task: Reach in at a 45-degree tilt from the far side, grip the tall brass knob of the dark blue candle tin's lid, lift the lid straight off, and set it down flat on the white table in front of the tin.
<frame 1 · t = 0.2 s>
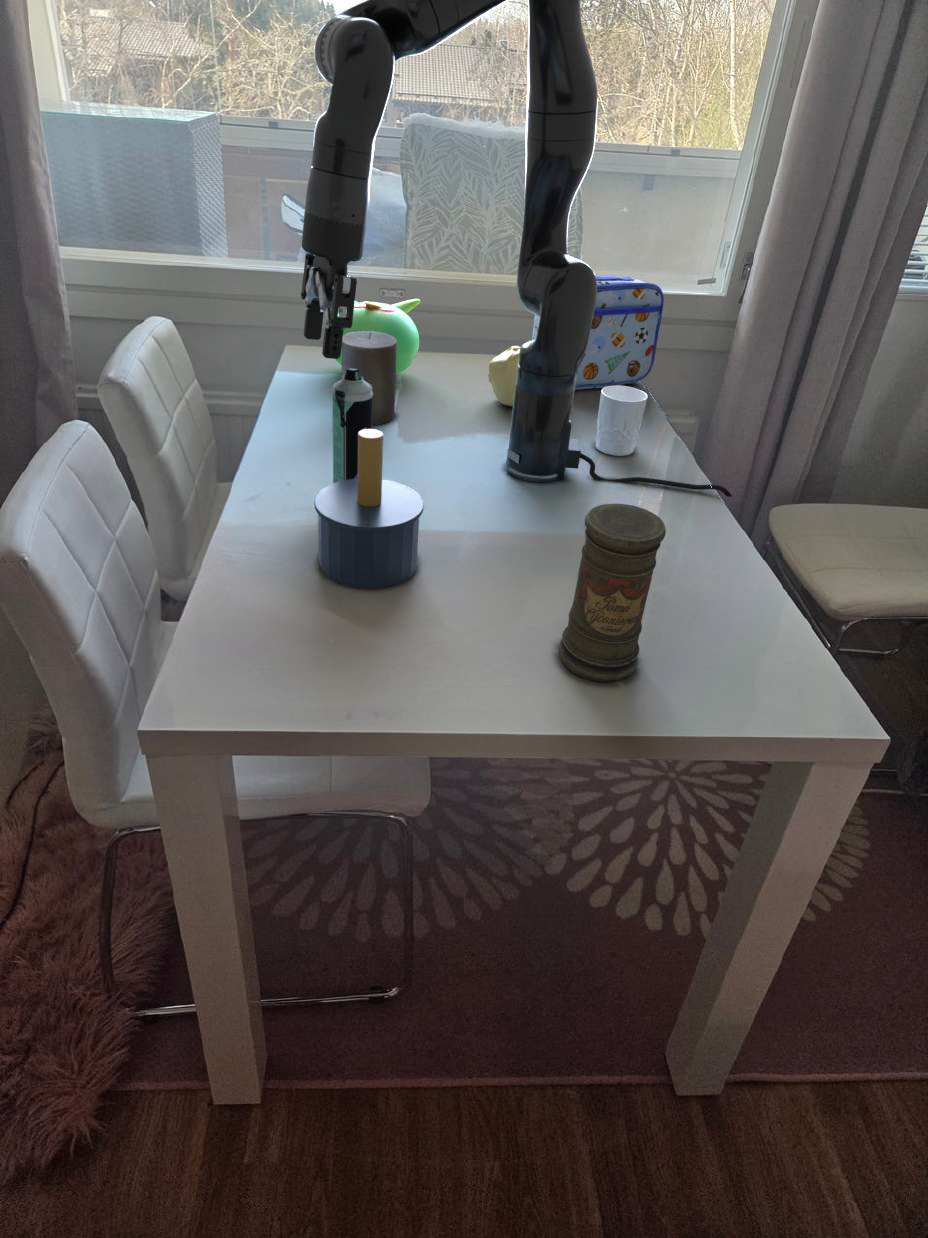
hand: (321, 347, 112), 23 cm above the table, tool pointing down, fingers open, 8 cm apart
spray can: (352, 503, 127), on the table
sculpture: (518, 404, 167), on the table
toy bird: (373, 374, 175), on the table
tin: (368, 563, 113), on the table
pillar candle: (367, 416, 156), on the table
lunch box: (586, 384, 180), on the table
white cup: (614, 449, 152), on the table
container: (596, 660, 99), on the table
lid: (369, 505, 108), point 8 cm above the table, touching tin
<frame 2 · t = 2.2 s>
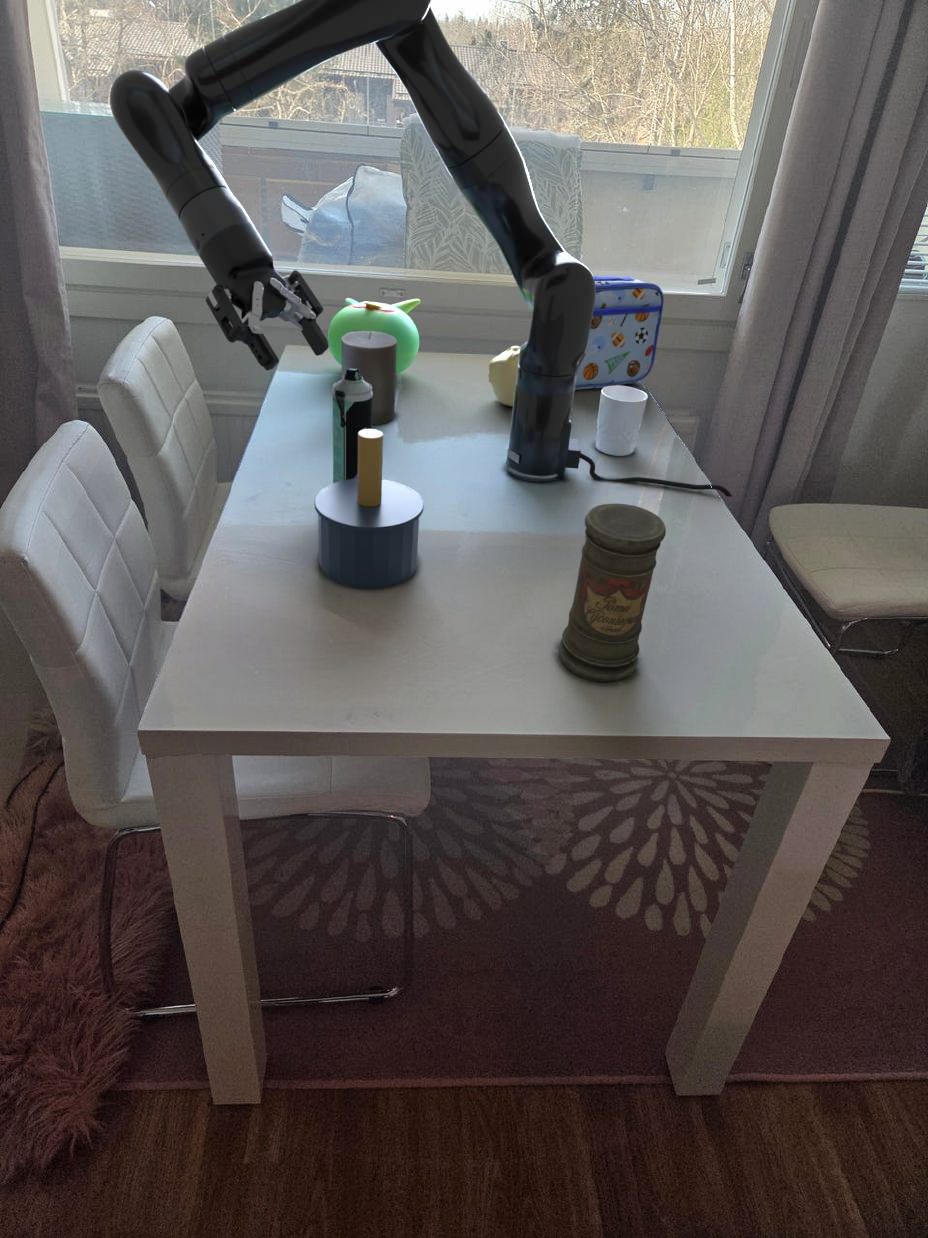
hand: (299, 358, 104), 24 cm above the table, tool tilted 45°, fingers open, 8 cm apart
nothing on the table moved.
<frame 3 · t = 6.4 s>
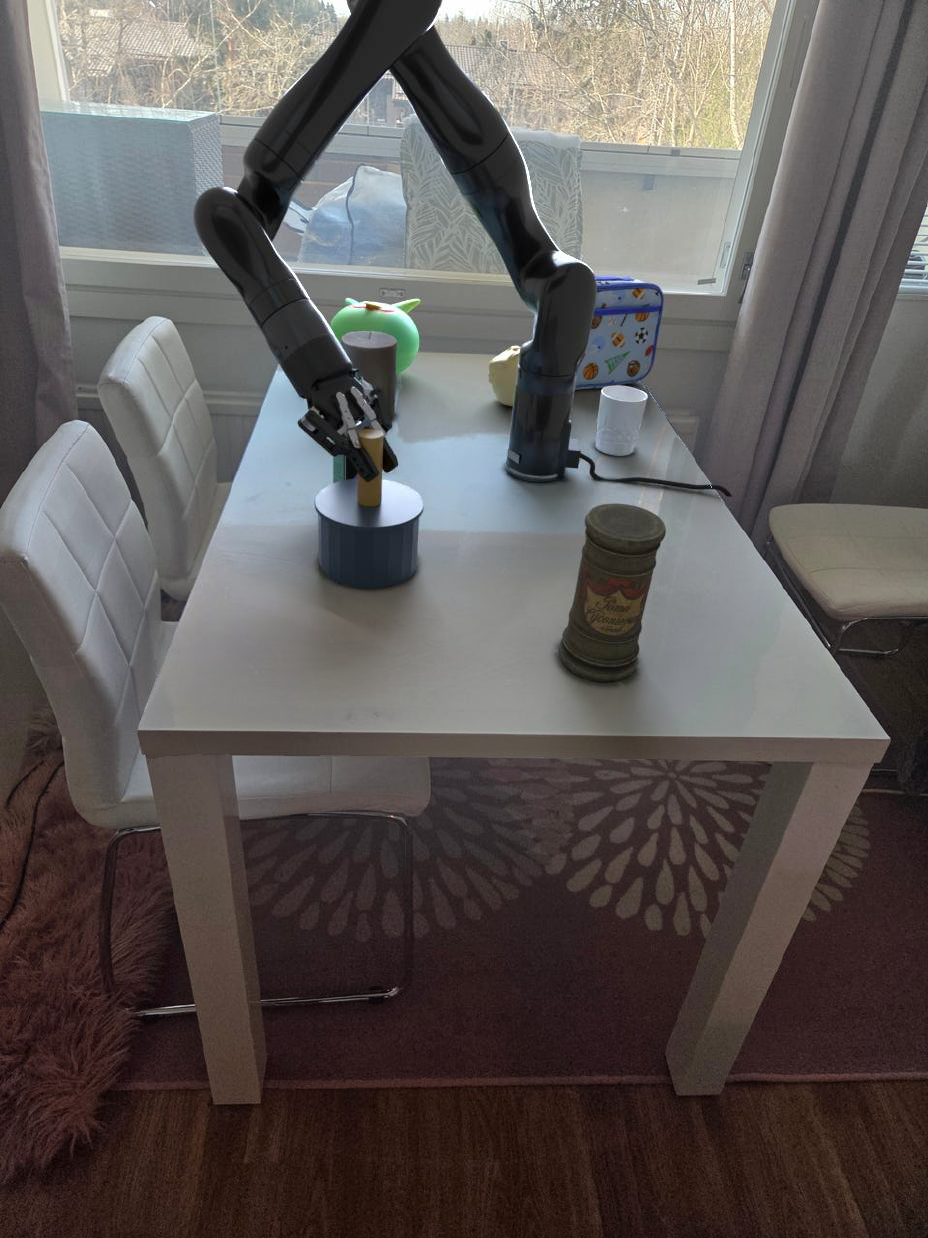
hand: (383, 473, 104), 13 cm above the table, tool tilted 45°, fingers closed on lid, 3 cm apart
lid: (369, 505, 108), point 8 cm above the table, touching gripper, tin
everything else where it was.
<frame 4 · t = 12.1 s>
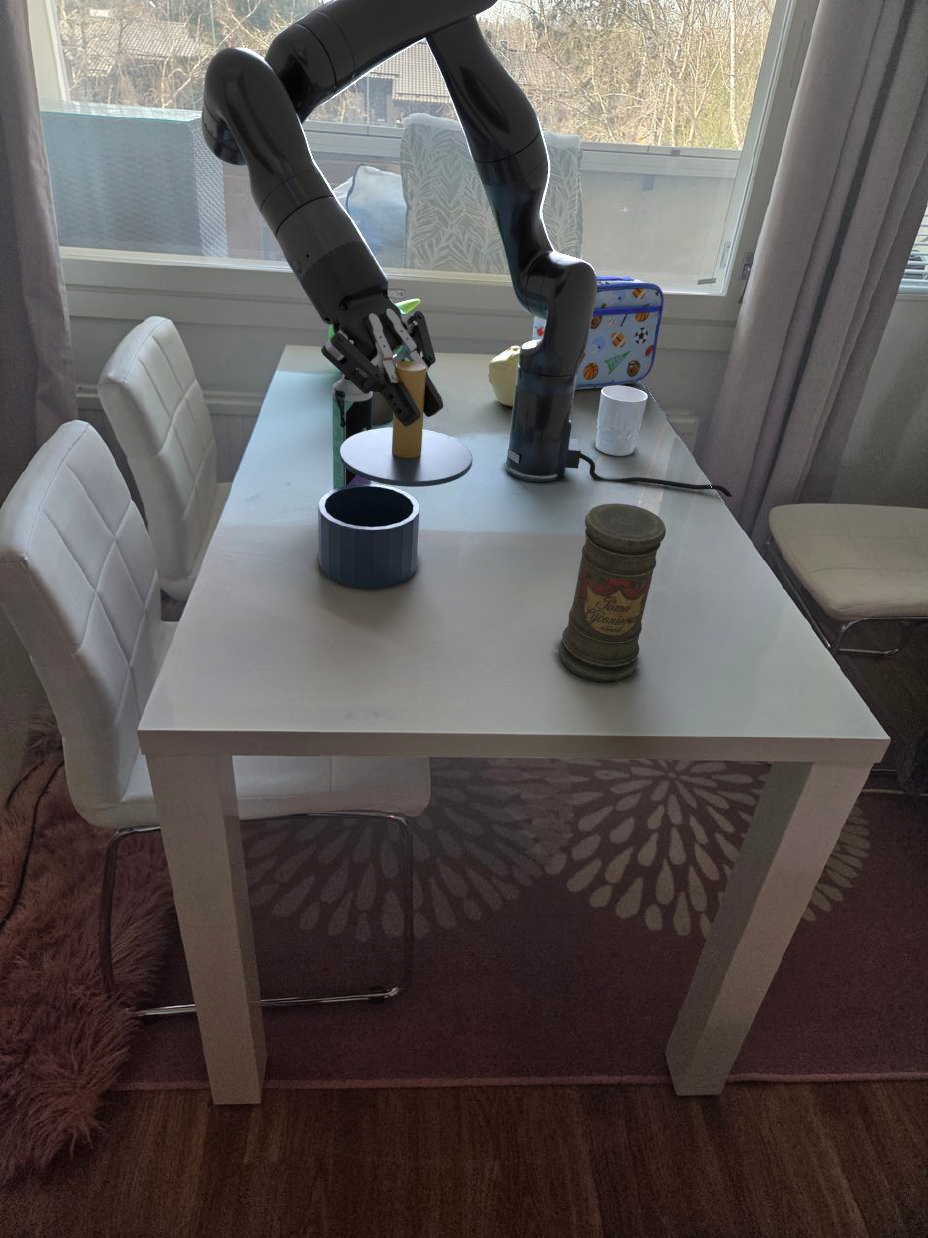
hand: (424, 416, 85), 27 cm above the table, tool tilted 45°, fingers closed on lid, 3 cm apart
lid: (406, 457, 89), point 22 cm above the table, touching gripper
everything else where it was.
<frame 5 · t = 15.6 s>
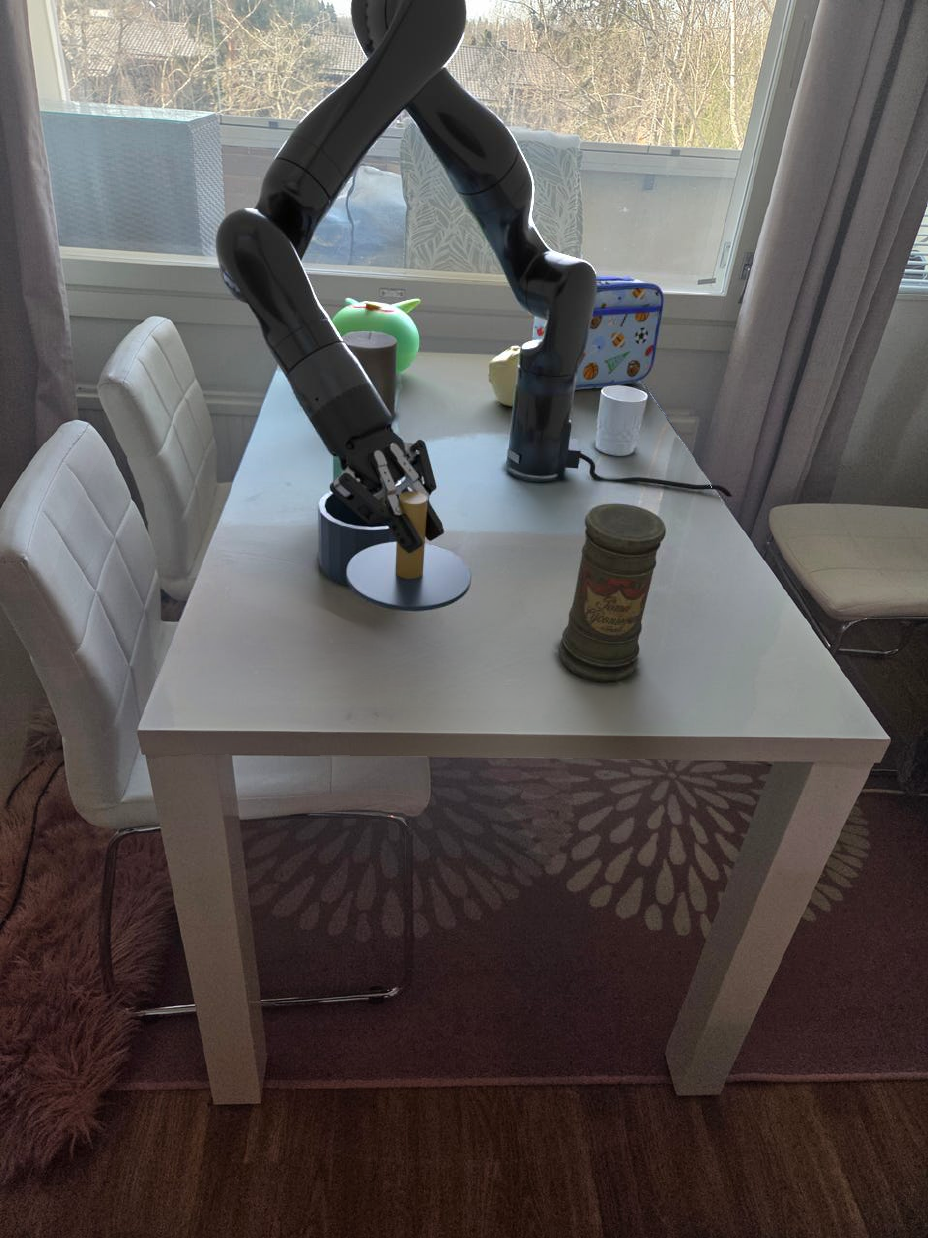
hand: (426, 542, 90), 14 cm above the table, tool tilted 45°, fingers closed on lid, 3 cm apart
lid: (408, 576, 94), point 9 cm above the table, touching gripper
everything else where it was.
when the fingers open (6 cm above the table, at t = 18.1 s): lid stays where it is, point 1 cm above the table.
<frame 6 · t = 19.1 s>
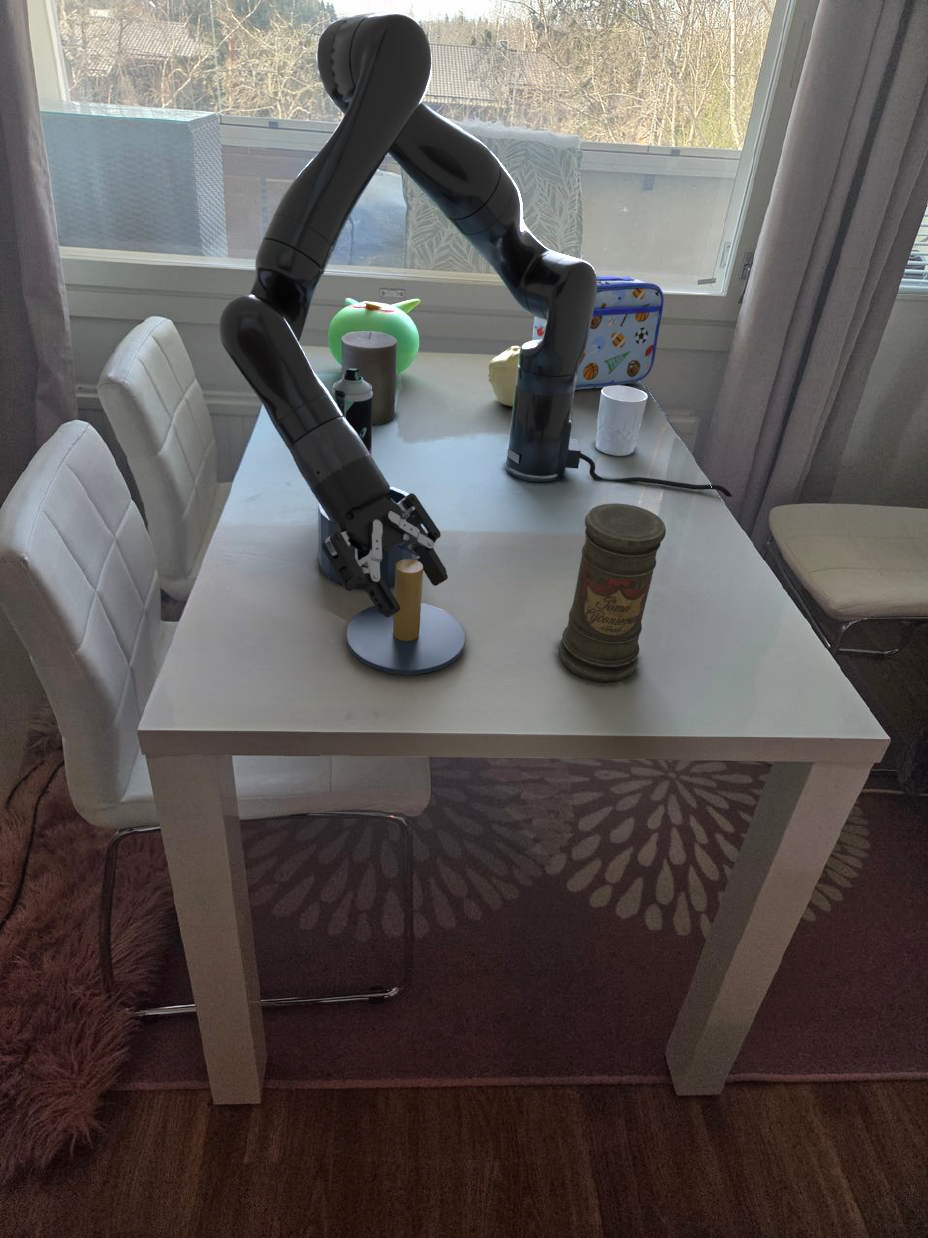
hand: (418, 597, 95), 7 cm above the table, tool tilted 45°, fingers open, 8 cm apart
lid: (405, 637, 99), point 1 cm above the table
everything else where it was.
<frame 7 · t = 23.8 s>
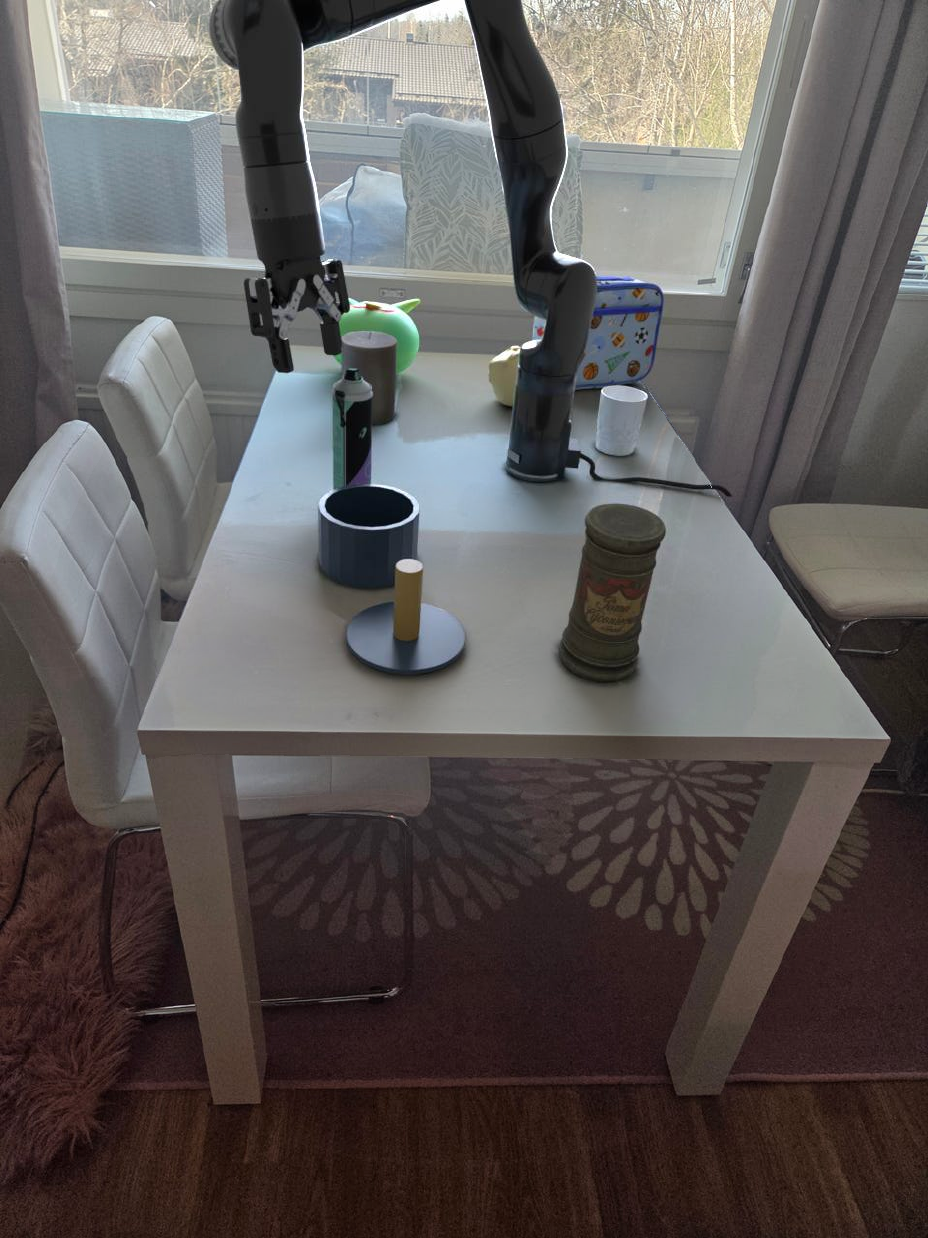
hand: (310, 362, 101), 25 cm above the table, tool pointing down, fingers open, 8 cm apart
nothing on the table moved.
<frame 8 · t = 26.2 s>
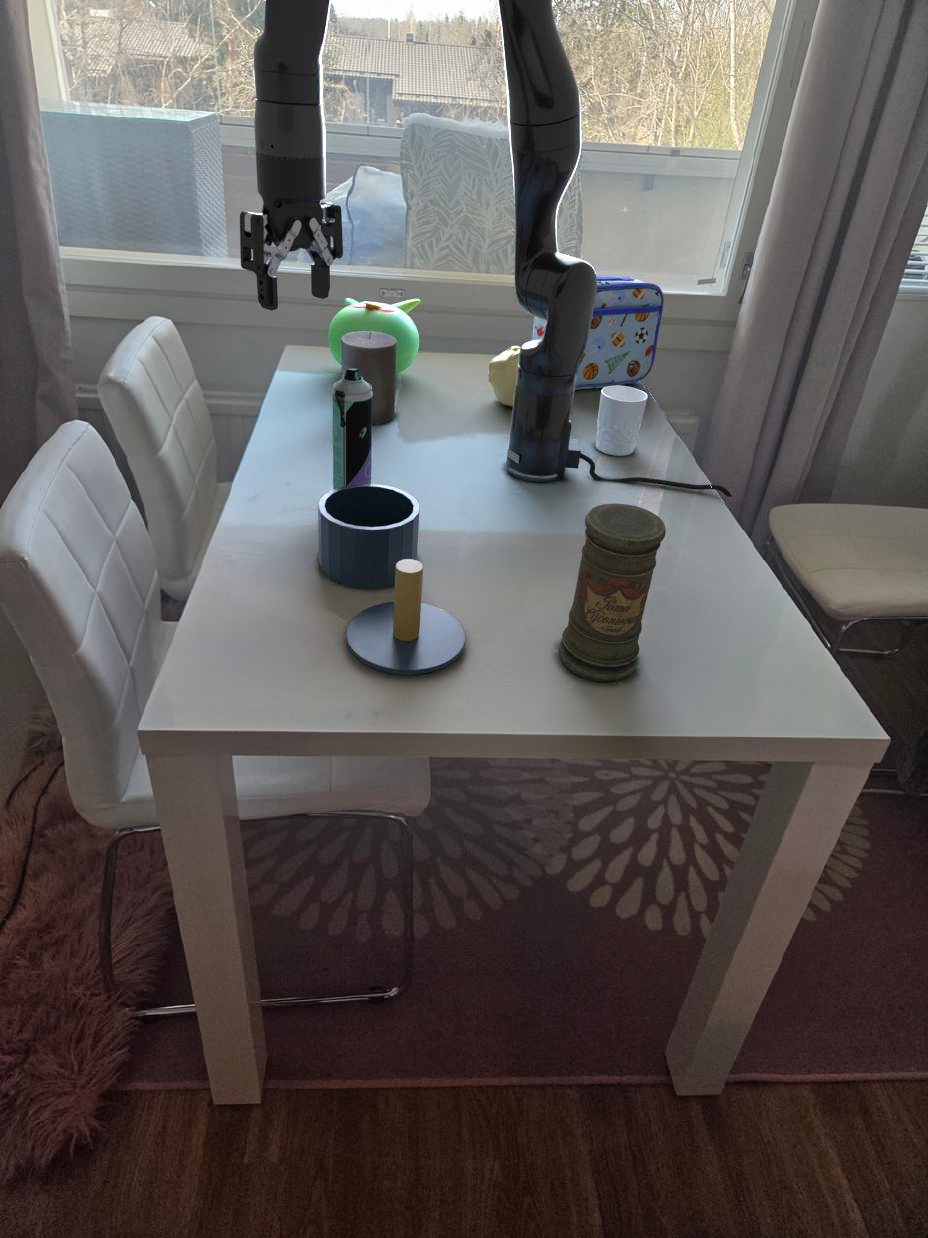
hand: (295, 302, 103), 30 cm above the table, tool pointing down, fingers open, 8 cm apart
nothing on the table moved.
at the end: lid point 0.6 cm above the table; lid inside the target area (0.1 cm from its centre), point 0.6 cm above the table; lid tilted 0° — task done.
